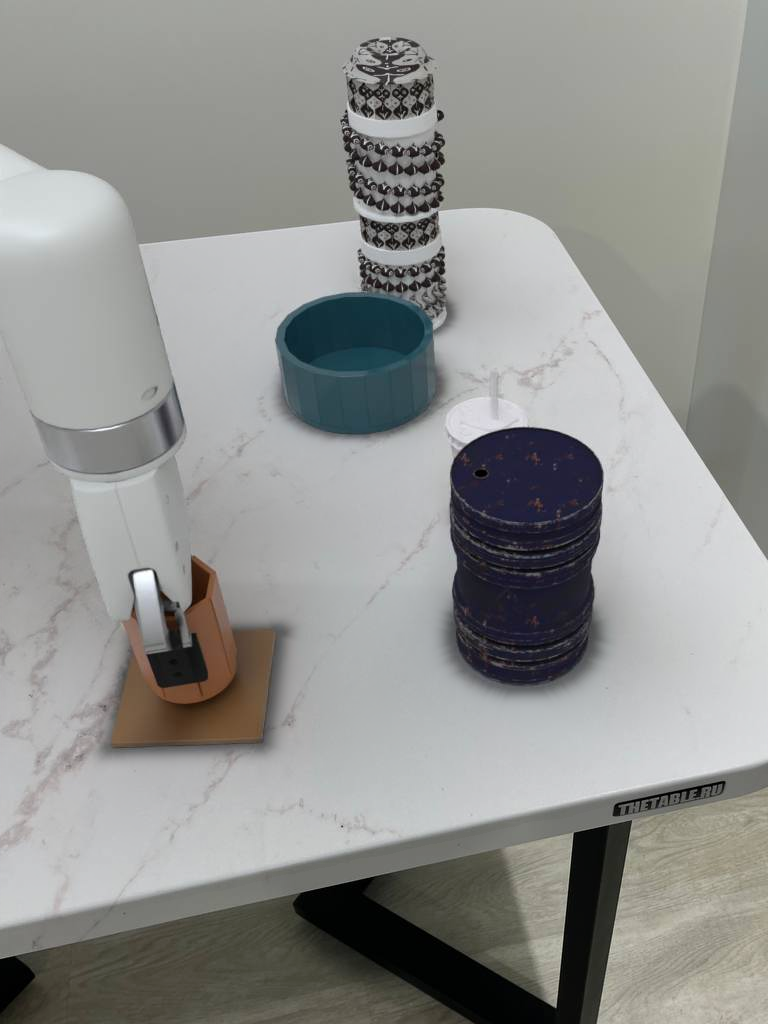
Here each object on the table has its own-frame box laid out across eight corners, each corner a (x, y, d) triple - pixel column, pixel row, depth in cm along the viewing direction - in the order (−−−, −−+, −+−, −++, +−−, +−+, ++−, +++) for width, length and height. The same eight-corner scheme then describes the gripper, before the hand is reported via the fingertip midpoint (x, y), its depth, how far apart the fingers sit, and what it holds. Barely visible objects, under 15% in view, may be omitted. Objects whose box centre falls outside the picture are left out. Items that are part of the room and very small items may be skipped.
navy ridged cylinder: (585, 587, 80) (600, 425, 69) (595, 686, 73) (613, 524, 62) (454, 588, 80) (448, 426, 69) (452, 687, 73) (445, 525, 62)
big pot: (278, 436, 93) (268, 378, 89) (292, 350, 103) (283, 293, 98) (436, 432, 93) (433, 373, 89) (435, 346, 103) (432, 289, 98)
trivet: (111, 748, 70) (109, 743, 70) (139, 637, 77) (137, 633, 76) (262, 742, 70) (260, 738, 70) (276, 633, 77) (275, 628, 76)
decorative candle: (365, 291, 110) (340, 27, 92) (453, 292, 110) (445, 28, 91) (354, 338, 104) (325, 66, 85) (447, 339, 104) (438, 66, 85)
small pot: (141, 705, 70) (108, 622, 64) (156, 639, 74) (127, 556, 68) (231, 702, 70) (207, 619, 64) (241, 636, 74) (220, 553, 68)
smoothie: (527, 545, 83) (533, 395, 73) (447, 546, 83) (441, 396, 73) (525, 493, 87) (529, 345, 77) (448, 494, 87) (442, 345, 77)
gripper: (48, 341, 62) (127, 563, 75) (26, 532, 50) (123, 754, 64) (178, 326, 63) (232, 548, 76) (184, 509, 51) (247, 733, 65)
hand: (182, 640), depth 70 cm, fingers closed on small pot, 6 cm apart
